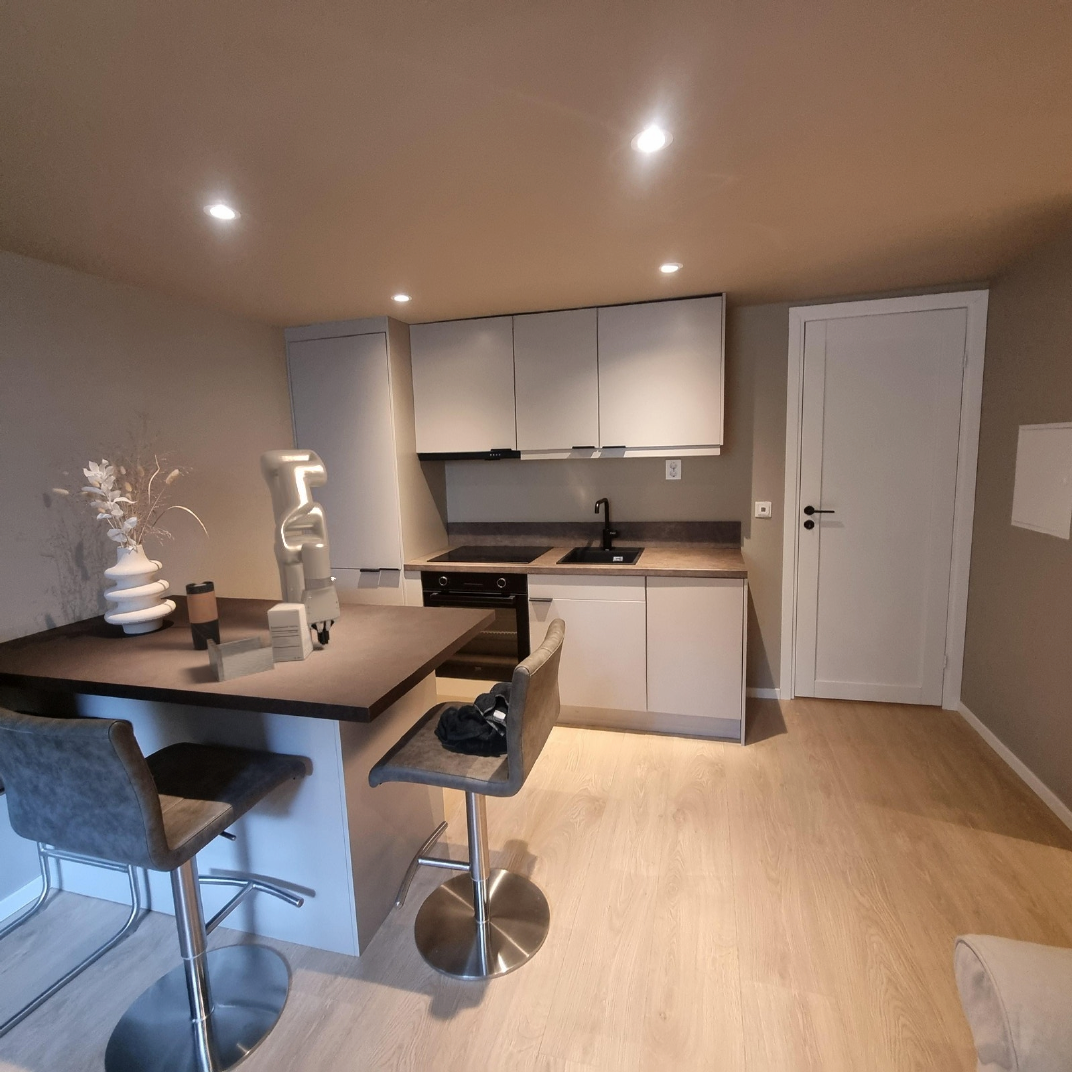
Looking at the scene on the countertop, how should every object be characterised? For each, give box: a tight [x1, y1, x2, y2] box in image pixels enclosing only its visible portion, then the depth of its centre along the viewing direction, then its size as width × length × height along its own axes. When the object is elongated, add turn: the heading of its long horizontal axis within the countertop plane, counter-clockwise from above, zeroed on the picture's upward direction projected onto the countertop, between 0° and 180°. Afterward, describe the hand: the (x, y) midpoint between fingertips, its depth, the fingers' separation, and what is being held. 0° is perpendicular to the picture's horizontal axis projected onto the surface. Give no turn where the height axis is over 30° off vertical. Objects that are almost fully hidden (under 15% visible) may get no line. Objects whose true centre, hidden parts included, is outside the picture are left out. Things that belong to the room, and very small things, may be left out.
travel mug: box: [185, 581, 221, 651], centre depth 175 cm, size 8×8×20 cm
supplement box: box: [266, 602, 314, 663], centre depth 163 cm, size 9×9×15 cm
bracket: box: [207, 635, 275, 683], centre depth 155 cm, size 13×14×8 cm
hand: (324, 643), depth 169 cm, fingers closed
